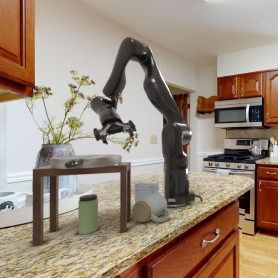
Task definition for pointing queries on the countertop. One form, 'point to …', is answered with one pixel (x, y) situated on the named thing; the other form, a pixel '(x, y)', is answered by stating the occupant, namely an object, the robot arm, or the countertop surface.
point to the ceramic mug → (151, 208)
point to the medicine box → (145, 190)
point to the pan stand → (77, 167)
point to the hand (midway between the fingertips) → (119, 139)
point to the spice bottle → (88, 214)
